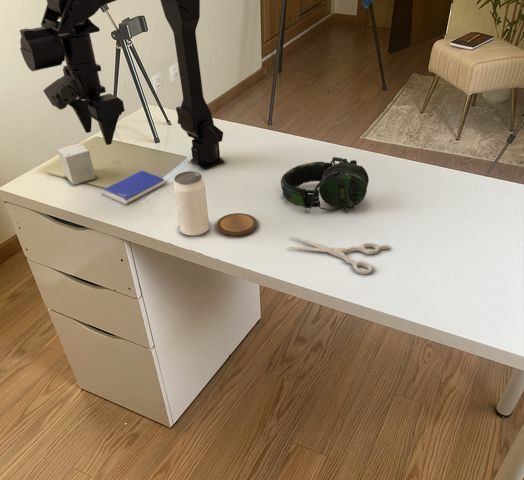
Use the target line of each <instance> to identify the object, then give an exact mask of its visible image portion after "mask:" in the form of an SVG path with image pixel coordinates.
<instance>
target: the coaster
mask: <svg viewBox="0 0 524 480" xmlns="http://www.w3.org/2000/svg"><path fill="white" fill-rule="evenodd" d="M257 228H258V220H257V219H256V218H255V217H254V216H252V215H250V214H248V213H243V212H235V213H229V214H226V215H223V216H222V217H220V218H219V219H218V220H217V222H216V229H217V231H218V233H219V234H221V235H222V236H225V237H229V238H243V237H247V236H249V235H251V234H253V233H254V232H255V231H256V230H257Z"/></svg>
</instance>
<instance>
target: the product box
mask: <svg viewBox="0 0 524 480" xmlns="http://www.w3.org/2000/svg"><path fill="white" fill-rule="evenodd" d="M57 152H58V156H59V158H60V163H61V166H62V168H63V171H64V175H65V178H66V179H68V180H69V182H71V184H73V186H76V185H79V184H82V183H85V182H88V181H92V180H96V178H97V177H96V173H95V169H94V166H93V162H92V157H91V154H90V151H89V149H88V148H86V146H84V145H83V144H82V143H81V142H78V143H75V144H70V145H67V146H63V147H60V148H57Z"/></svg>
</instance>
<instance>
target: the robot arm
mask: <svg viewBox="0 0 524 480" xmlns="http://www.w3.org/2000/svg"><path fill="white" fill-rule="evenodd" d="M116 1H117V0H46V3H47V4H46V7H45V10H44V13H43V16H42V19H41V22H40V27H39V26H38V27H34V28H21V29H20V30H19V33H20V36H21V37H20V39H19V43H20V44H19V45H20V47H19V48H20V49H19V50H20V53H21V55H22V58H23V60H24V62H25V64H26V66H27V68H28V69H29V70H30V71H31V72H36V71H42V70H45V69H46V70H47V69H50V68H54V67H58V66H61V65H62V64H63V62H65V64H66V65H62V67H63V68H62V71H63V76H61V77H59V78H57V79H56V80H54V81H53V82H52V83H51V84H49V85H48V86H46V87H45V88H44V89H43V93H44V95H45V96H46V98H47V100H48V101H49V102H50V104H51V106H53V107H55V108H57V110H60V111H61V110H65V109H66V108H67V106H69V107H71V108H72V110H73V111H74V113H75V115H76V117H77V119H78V120H79V122H80V124H81V126H82V128H83V130H84V131H85V133H87V134H88V133H89V134H90V133H91V132H92V123H93V122H92V120H95V121H96V122H97V124H98V127H99V129H100V132H101V134H102V139H103V141H104V142H105V145H107V146H110V145H112V143H113V139H114V135H115V132H116V128H117V124H118V122H119V118H120V116H121V115H122V113H124V112H125V104H124V101H123V100H122V99H121V98H119V97H118V96H116V95H114V94H112V93H106V92H107V91H106V86H104V85H102V83H101V80H100V75H99V72H102V66H101V65H100V64H98V63H97V62H96V57H95V51H94V47H93V42H92V38H91V34H94V33H99V32H100V31H101V29H100V27H98V26H97V25H96V24H95V23H93V22H92V21H91V19H90V18H91V17H93V16H95V14H96V13H97V12H98V11H99V10H100V9H101V8H102V7H104V6H105V5H108V4H111V3H113V2H116ZM159 1H160V4H161V8H162V10H163V14H164V18H165V19H166V21H167V23H168V25H169V27H170V28H171V31H172V34H173V39H174V44H175V52H176V53H175V54H176V59H177V65H178V72H179V73H178V74H179V80H180V85H181V93H182V102H181V105H180V106H176V107H175V111H176V114H177V124H178V125H180V128H181V129H182V130H183V131H184V132H185V133H186V135H187V136H188V138H192V139H191V147H190V149H191V157H192V158H191V159H190V162H191V163H193V164H194V165H196V166H198V167H200V168H201V169H203V170H207V169H209V168H212V167H215V166H217V165H220V164H223V163H224V162H225V159H223V158H221V151H220V143H221V142H222V141H223V137H224V132H223V131H222V130H221V129H220V128H218V127H217V126H216V125H215V124H214V119H213V115H212V111H211V109H210V107H209V105H208V103H207V102H206V100H205V97H204V91H203V82H202V75H201V65H200V58H199V57H200V56H199V51H198V50H199V49H198V43H197V34H196V32H197V31H196V30H197V27H198V24H199V21H200V16H201V9H200V8H201V0H159ZM59 19H60V21H59ZM104 93H106V94H104Z"/></svg>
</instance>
